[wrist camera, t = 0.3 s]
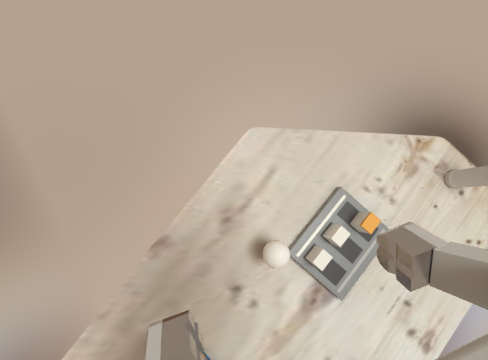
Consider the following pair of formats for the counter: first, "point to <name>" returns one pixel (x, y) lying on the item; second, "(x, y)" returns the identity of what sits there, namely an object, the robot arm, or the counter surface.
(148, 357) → the robot arm
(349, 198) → the panel
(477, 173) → the bottle
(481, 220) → the counter surface
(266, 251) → the lightbulb
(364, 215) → the block
